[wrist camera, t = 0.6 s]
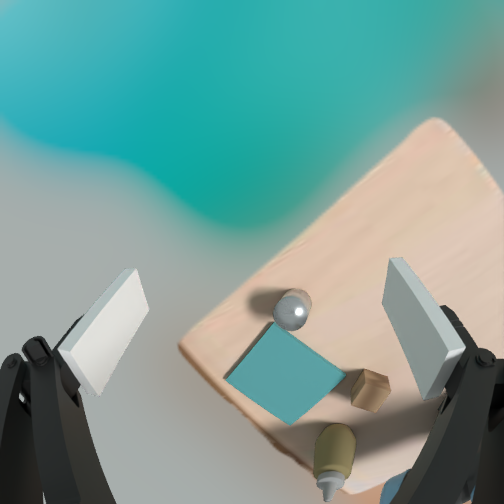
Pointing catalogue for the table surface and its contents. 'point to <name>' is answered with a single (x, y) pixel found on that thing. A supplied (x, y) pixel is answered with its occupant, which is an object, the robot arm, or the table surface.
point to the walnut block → (370, 391)
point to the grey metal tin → (292, 310)
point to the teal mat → (284, 375)
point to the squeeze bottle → (333, 458)
